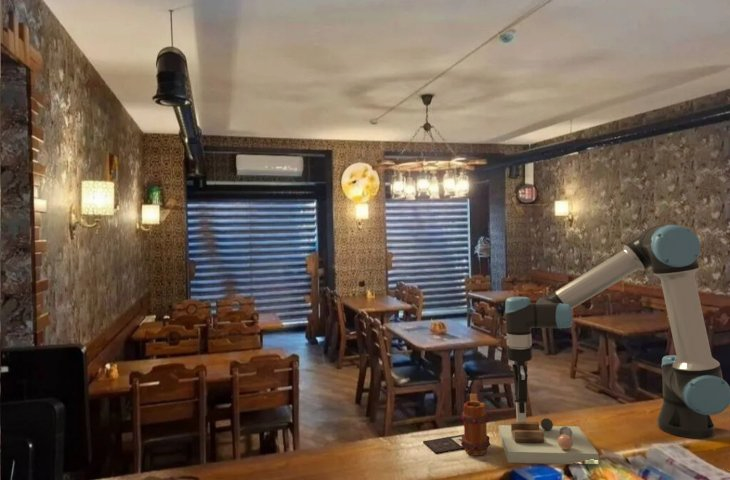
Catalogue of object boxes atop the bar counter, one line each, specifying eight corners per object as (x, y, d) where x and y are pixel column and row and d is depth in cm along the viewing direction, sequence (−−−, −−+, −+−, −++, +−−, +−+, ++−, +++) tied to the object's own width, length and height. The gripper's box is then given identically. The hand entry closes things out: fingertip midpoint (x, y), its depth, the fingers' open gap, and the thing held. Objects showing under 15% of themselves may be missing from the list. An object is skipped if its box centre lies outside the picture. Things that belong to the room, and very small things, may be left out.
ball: (570, 436, 150) (570, 424, 150) (573, 441, 147) (573, 429, 147) (558, 436, 151) (558, 424, 151) (561, 441, 147) (560, 428, 147)
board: (578, 436, 158) (578, 426, 158) (599, 464, 138) (598, 453, 138) (498, 434, 161) (498, 425, 161) (507, 462, 141) (507, 451, 141)
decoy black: (551, 428, 157) (551, 416, 157) (554, 432, 154) (553, 420, 154) (539, 427, 158) (539, 416, 158) (542, 432, 154) (541, 420, 154)
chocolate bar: (423, 441, 157) (474, 432, 163) (423, 444, 157) (475, 435, 163) (435, 452, 148) (490, 442, 154) (435, 455, 148) (490, 446, 154)
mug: (491, 460, 143) (489, 406, 143) (461, 458, 145) (459, 405, 145) (489, 439, 158) (487, 391, 158) (462, 438, 159) (460, 390, 159)
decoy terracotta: (571, 446, 143) (570, 432, 143) (574, 452, 139) (574, 437, 139) (556, 446, 144) (555, 432, 144) (559, 452, 140) (559, 437, 140)
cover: (538, 432, 154) (538, 422, 154) (544, 442, 146) (543, 432, 146) (511, 431, 155) (510, 421, 155) (515, 442, 147) (514, 431, 147)
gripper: (503, 342, 166) (506, 414, 166) (509, 351, 154) (512, 429, 154) (527, 342, 165) (530, 414, 165) (535, 351, 152) (538, 430, 153)
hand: (521, 421), depth 160 cm, fingers closed
